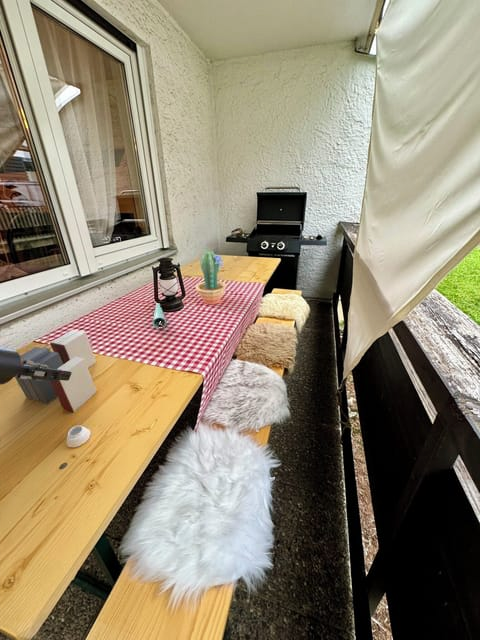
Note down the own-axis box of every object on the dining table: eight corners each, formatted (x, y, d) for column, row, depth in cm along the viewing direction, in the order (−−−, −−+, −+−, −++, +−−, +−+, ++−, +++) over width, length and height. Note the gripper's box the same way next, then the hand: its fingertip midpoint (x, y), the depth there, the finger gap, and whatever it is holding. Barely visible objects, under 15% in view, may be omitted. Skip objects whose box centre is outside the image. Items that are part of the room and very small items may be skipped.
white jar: (77, 428, 64) (62, 446, 60) (73, 420, 63) (57, 438, 59) (95, 431, 63) (81, 450, 59) (92, 423, 62) (77, 441, 58)
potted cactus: (209, 310, 123) (204, 257, 111) (191, 300, 133) (185, 252, 121) (233, 300, 132) (231, 251, 120) (214, 292, 142) (211, 246, 130)
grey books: (26, 397, 74) (6, 361, 68) (51, 379, 81) (35, 345, 75) (47, 404, 72) (28, 367, 66) (72, 385, 78) (57, 349, 72)
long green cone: (161, 293, 128) (165, 316, 106) (163, 303, 131) (167, 328, 108) (150, 294, 127) (151, 318, 104) (152, 304, 129) (153, 330, 107)
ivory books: (63, 373, 83) (49, 342, 78) (84, 359, 90) (72, 329, 84) (76, 377, 82) (63, 345, 76) (96, 361, 89) (86, 331, 83)
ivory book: (63, 409, 70) (47, 375, 64) (88, 389, 77) (75, 356, 71) (73, 412, 69) (57, 378, 63) (97, 391, 76) (84, 358, 70)
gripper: (15, 350, 49) (84, 363, 64) (-34, 339, 53) (41, 353, 68) (-3, 390, 47) (72, 394, 62) (-52, 375, 51) (30, 382, 66)
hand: (56, 372), depth 65 cm, fingers open, 8 cm apart
